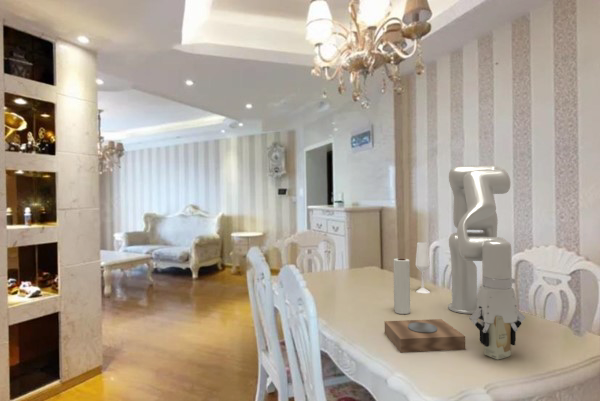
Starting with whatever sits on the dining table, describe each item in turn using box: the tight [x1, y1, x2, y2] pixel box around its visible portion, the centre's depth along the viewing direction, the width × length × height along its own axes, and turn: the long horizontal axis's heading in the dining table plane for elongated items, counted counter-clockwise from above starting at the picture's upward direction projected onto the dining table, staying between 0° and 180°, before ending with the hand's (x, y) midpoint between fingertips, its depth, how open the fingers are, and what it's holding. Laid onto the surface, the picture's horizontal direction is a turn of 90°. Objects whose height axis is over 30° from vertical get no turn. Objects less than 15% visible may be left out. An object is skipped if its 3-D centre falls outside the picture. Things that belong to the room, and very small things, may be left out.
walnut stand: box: [384, 318, 467, 353], centre depth 119 cm, size 20×16×4 cm
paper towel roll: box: [392, 257, 411, 315], centre depth 149 cm, size 7×6×21 cm
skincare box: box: [484, 316, 512, 361], centre depth 107 cm, size 6×4×12 cm
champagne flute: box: [415, 241, 431, 294], centre depth 180 cm, size 7×7×24 cm
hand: (497, 343), depth 107 cm, fingers closed on skincare box, 7 cm apart
